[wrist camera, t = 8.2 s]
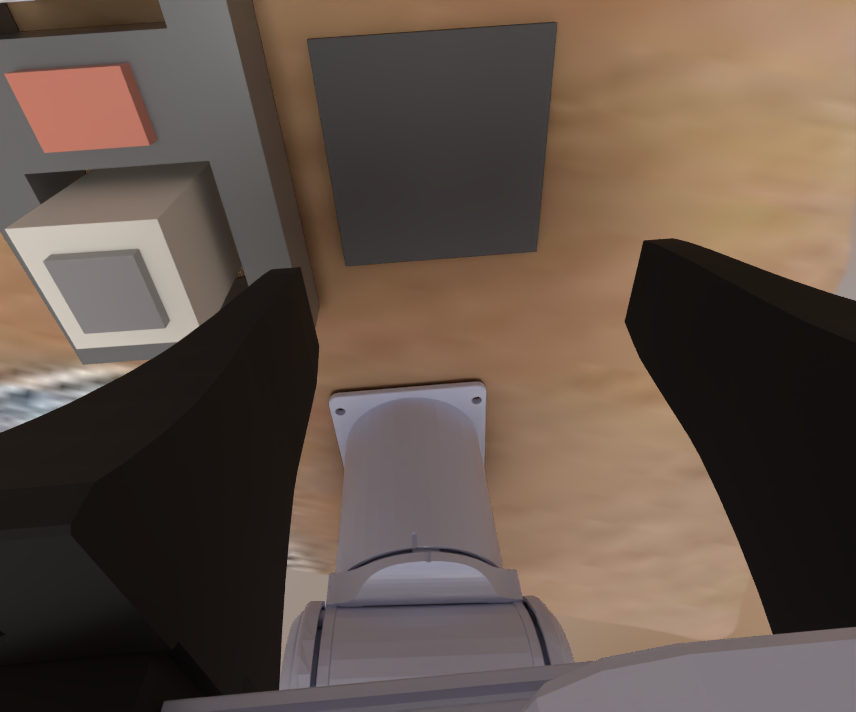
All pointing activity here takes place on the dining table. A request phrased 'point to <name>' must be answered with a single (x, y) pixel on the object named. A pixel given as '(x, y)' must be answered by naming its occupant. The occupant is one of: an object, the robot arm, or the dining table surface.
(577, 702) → the robot arm
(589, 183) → the dining table surface
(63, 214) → the plug
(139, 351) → the strip
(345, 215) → the mat
